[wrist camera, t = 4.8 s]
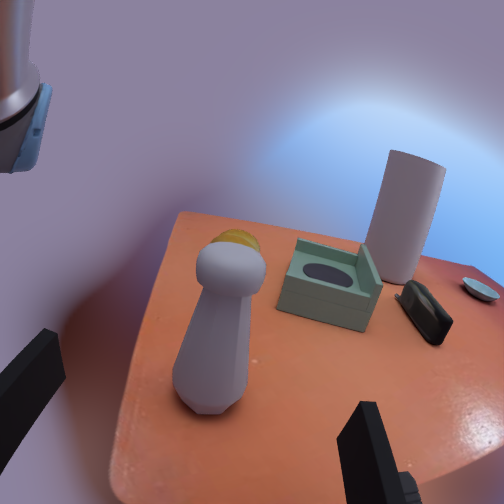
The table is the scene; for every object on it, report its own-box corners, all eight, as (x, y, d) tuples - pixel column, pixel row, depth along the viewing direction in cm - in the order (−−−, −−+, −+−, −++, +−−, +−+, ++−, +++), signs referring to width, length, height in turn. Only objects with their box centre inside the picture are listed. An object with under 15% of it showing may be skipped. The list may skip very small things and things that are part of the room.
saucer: (457, 280, 70) (460, 273, 69) (491, 295, 65) (494, 287, 64) (462, 295, 60) (466, 286, 59) (500, 311, 55) (504, 302, 54)
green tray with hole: (276, 309, 40) (290, 259, 37) (291, 263, 56) (300, 226, 54) (364, 332, 38) (383, 285, 36) (354, 280, 55) (366, 245, 52)
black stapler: (458, 319, 35) (414, 273, 49) (444, 317, 35) (400, 270, 49) (442, 348, 37) (403, 298, 51) (428, 347, 37) (390, 296, 51)
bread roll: (202, 255, 51) (206, 232, 50) (222, 241, 60) (225, 221, 58) (249, 269, 50) (254, 246, 48) (263, 253, 58) (268, 233, 57)
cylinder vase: (418, 290, 57) (457, 172, 48) (365, 278, 57) (403, 150, 49) (398, 267, 69) (429, 166, 60) (352, 256, 69) (382, 149, 60)
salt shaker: (205, 436, 19) (237, 279, 15) (156, 390, 23) (167, 238, 18) (255, 401, 24) (298, 259, 20) (207, 365, 27) (232, 229, 23)
